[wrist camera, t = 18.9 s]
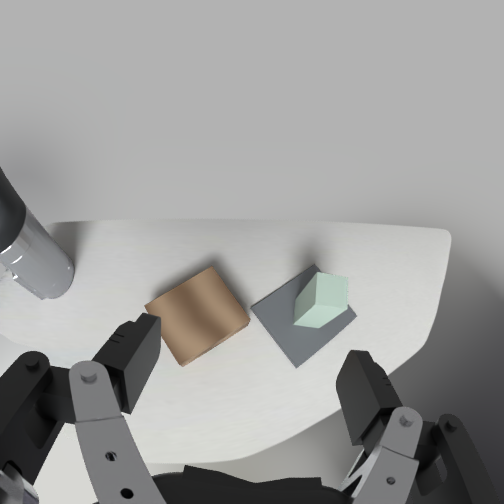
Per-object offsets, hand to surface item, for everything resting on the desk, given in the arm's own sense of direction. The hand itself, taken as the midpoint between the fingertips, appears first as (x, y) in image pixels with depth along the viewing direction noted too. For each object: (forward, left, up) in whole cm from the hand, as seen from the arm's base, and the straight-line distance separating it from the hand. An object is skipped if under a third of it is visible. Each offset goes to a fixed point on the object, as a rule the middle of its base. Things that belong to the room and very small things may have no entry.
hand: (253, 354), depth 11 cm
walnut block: (+1, +10, -31) cm, 32 cm away
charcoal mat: (+16, +1, -31) cm, 35 cm away
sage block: (+16, +1, -30) cm, 34 cm away
